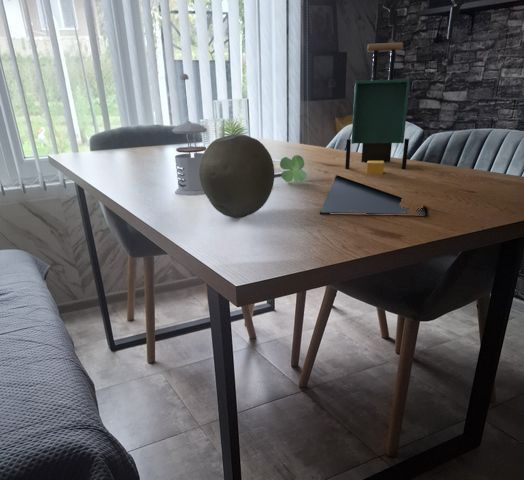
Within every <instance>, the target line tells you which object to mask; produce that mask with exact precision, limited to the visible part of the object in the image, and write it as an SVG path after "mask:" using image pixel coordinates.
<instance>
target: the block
mask: <svg viewBox="0 0 524 480" xmlns="http://www.w3.org/2000/svg"><path fill="white" fill-rule="evenodd" d="M384 166H385V162H384V161H368V162H366V175H384Z"/></svg>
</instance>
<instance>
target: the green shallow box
mask: <svg viewBox="0 0 524 480" xmlns="http://www.w3.org/2000/svg"><path fill="white" fill-rule="evenodd" d="M403 46H404V42H402V41H401V42H400V41H399V42H382V43H381V42H380V43H378V42H377V43H368V44H367V53H373V56H372V57H373V59H372V73H371V80H367V79H366V80H355V81H354V94H353V95H354V96H353V109H352V110H353V111H352V127H351V145H352V144H353V145H354V144H363V143H392V144H404V141H405V134H406V133H405V132H406V125H407V124H406V121H407V113H408V112H407V111H408V102H409V92H410V83H411V79H410V78H405V79H403V78H400V79H394V72H395V62H396V61H395V60H396V52H397V51H403ZM379 52H390V59H389V70H388V79H377V73H378V61H379Z"/></svg>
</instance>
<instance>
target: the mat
mask: <svg viewBox="0 0 524 480" xmlns="http://www.w3.org/2000/svg"><path fill="white" fill-rule="evenodd" d="M401 197H402V196H398V195H396V194H394V193H393V194H392V193H390V192H387V191H385V190H382V189H378V188H376V187H372V186H369V185H366V184H364V183H362V182H358V181H356V180H353V179H349V178H347V177H344V176H341V175H338V174H336V176H335V177H334V180H333V182H332V184H331V187H330V188H329V191H328V193H327V195H326V197H325V200H324V202H323V204H322V207H321V209H320V211H319V215H331V214H330V213H355V212H356V213H366V214H401V213H402V212H404V211H405V214H408V213H409V212H407V211H408V210H409V208H406V209H405V207H403V209H402V208H401V206H399V205H400V204H399V203H400V202H401V199H402V198H403V197H402V198H401ZM418 209H419V208H418ZM418 209H417V210H416V212H417V211H418V212H417V213H418V214H419V215H420V214H422V215H426V216H427V214H426V211H425V207H424V206H423V208H421V209H422V210H421V209H420V210H418ZM350 210H351V211H352V212H351V211H350ZM401 211H402V212H401ZM414 211H415V210H414ZM420 211H421V212H420ZM419 212H420V213H419ZM402 214H404V213H402Z"/></svg>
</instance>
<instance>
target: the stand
mask: <svg viewBox="0 0 524 480" xmlns="http://www.w3.org/2000/svg"><path fill="white" fill-rule="evenodd" d="M351 142H352V138H347V139H346V146H345V148H346V149H345V165H344V166H345V167H344V169H345V170H349V169H350V165H351V164H350V163H351V149H352V147H351V145H352V144H351ZM409 143H410V138H407V137H406V138H405V137H404V143H403V153H402V159H401V160H402V161H401V170H406V169H407V162H408V152H409ZM392 148H393V143H362V147H361V163H368V161H384V163H390V162H391V156H392Z"/></svg>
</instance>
